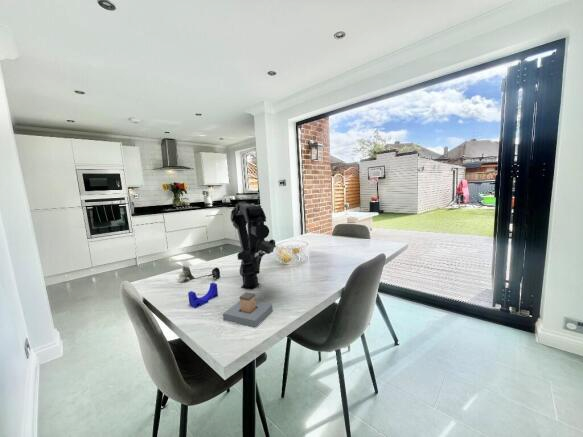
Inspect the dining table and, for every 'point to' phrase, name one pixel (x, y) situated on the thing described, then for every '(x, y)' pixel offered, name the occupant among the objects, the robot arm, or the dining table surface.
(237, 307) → the socket plate
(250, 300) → the tan upright block
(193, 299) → the cable clip
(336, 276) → the dining table surface
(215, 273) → the artificial flower
